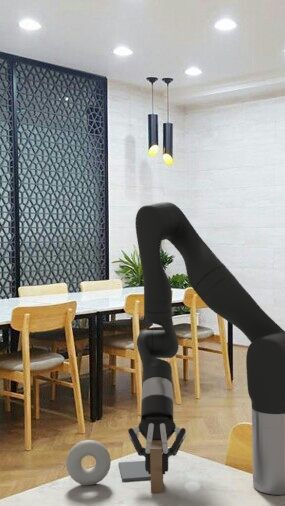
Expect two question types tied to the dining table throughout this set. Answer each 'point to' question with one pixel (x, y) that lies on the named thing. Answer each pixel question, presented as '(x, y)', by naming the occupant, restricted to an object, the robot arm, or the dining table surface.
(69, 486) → the dining table surface
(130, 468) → the rubber mat
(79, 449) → the donut
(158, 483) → the walnut slab
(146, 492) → the dining table surface
